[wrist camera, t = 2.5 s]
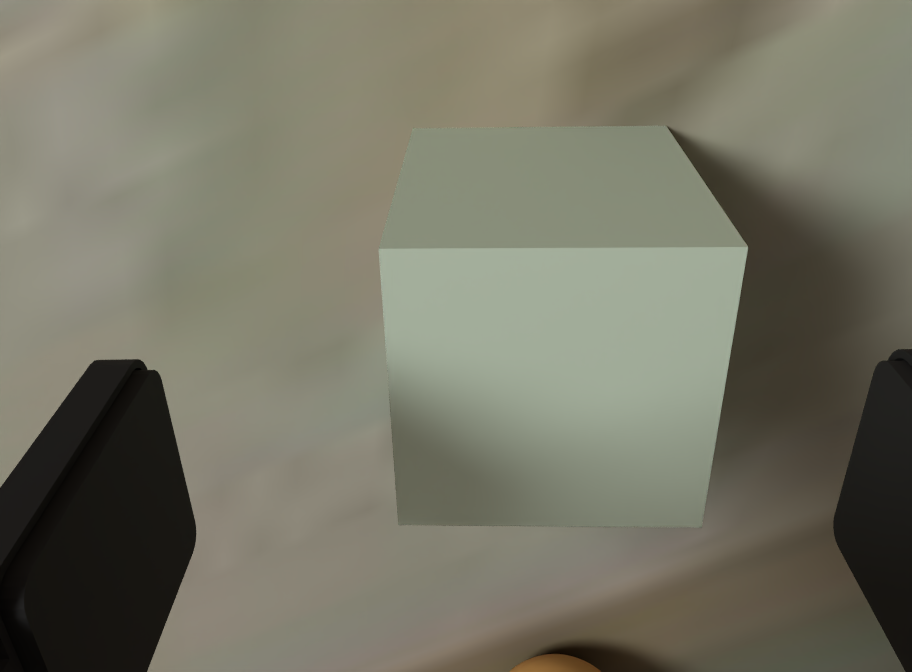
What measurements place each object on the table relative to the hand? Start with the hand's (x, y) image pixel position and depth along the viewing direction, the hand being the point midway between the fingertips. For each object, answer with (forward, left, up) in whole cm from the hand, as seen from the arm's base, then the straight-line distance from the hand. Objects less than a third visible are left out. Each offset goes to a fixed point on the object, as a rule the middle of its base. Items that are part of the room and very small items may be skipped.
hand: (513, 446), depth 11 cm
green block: (-1, 0, -8) cm, 8 cm away
